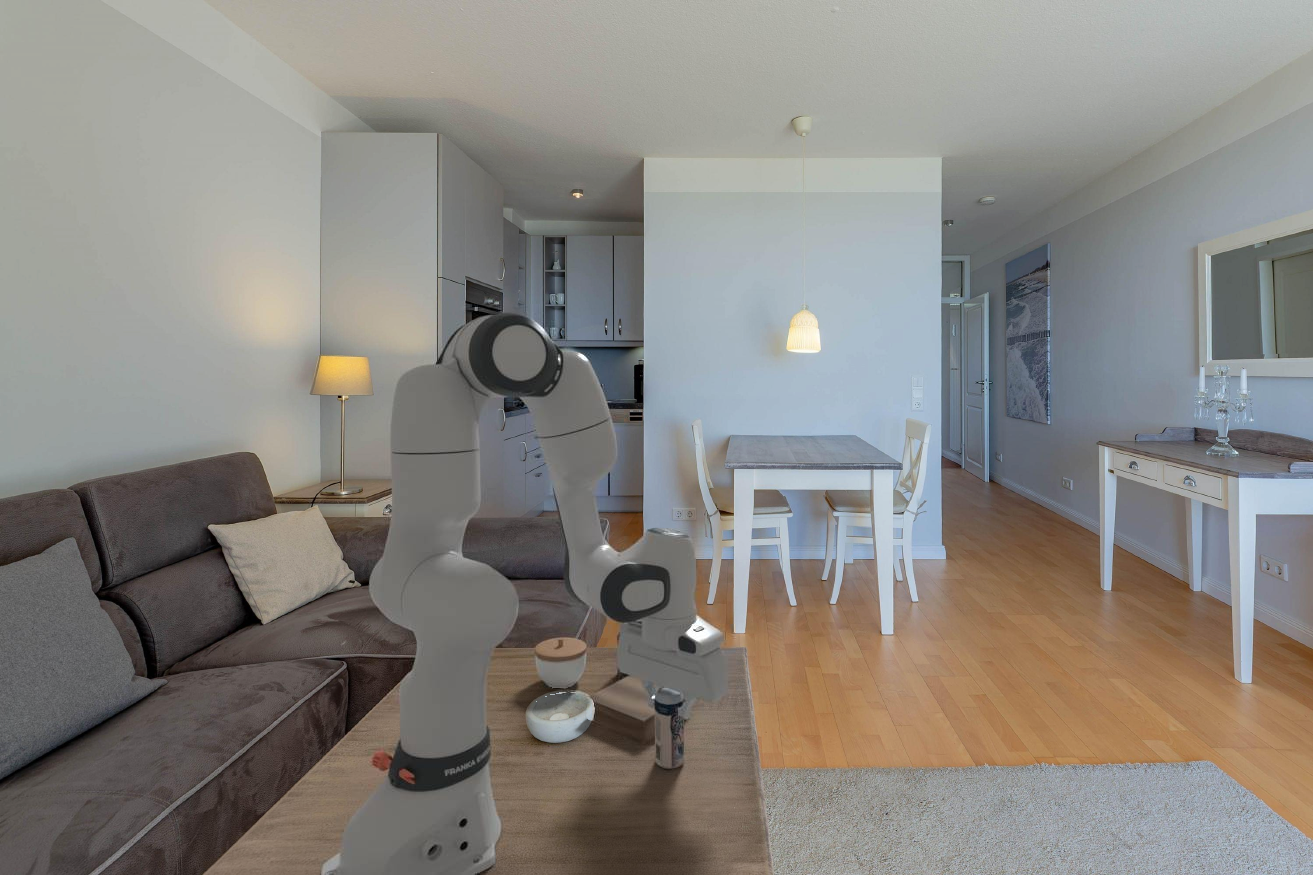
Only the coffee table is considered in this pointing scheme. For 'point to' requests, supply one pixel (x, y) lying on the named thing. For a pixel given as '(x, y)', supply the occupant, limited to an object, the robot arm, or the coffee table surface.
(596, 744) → the coffee table surface
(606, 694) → the walnut block
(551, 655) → the lidded jar
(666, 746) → the beer can
